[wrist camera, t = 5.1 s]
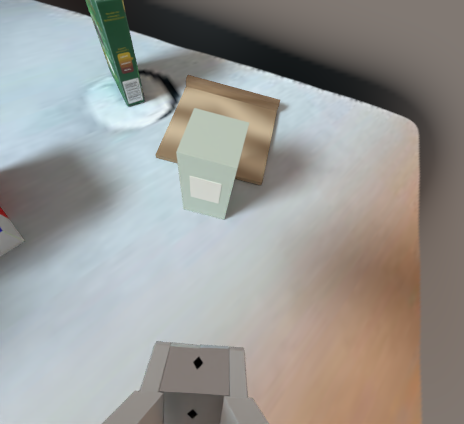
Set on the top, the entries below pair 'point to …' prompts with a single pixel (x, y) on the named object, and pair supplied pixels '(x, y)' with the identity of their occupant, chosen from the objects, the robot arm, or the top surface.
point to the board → (231, 105)
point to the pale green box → (209, 161)
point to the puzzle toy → (8, 234)
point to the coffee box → (117, 47)
